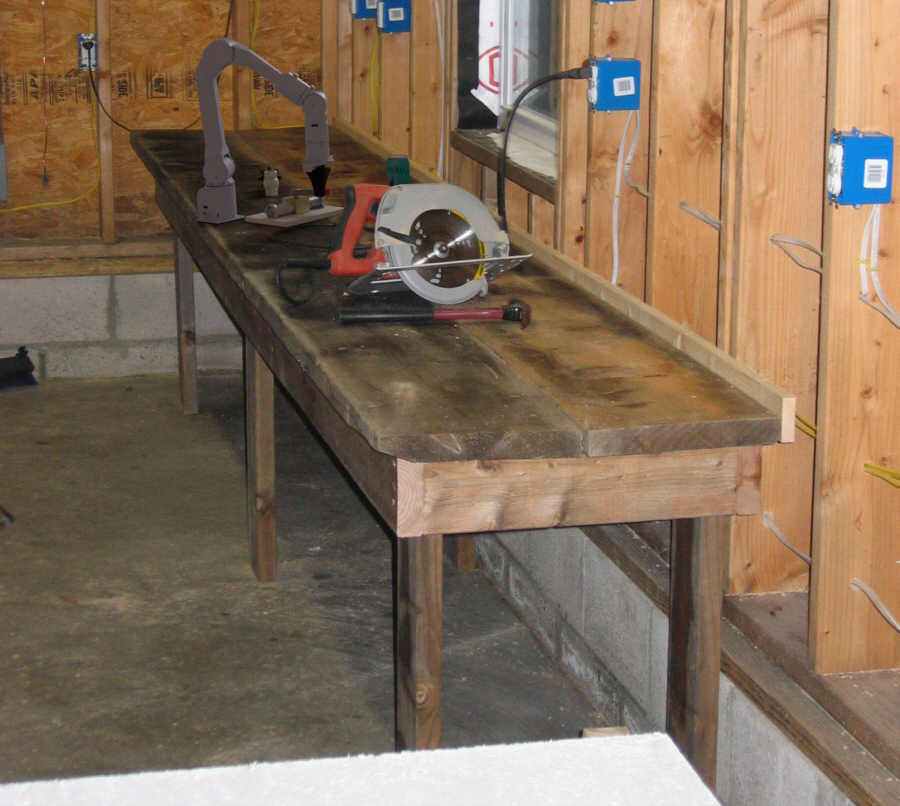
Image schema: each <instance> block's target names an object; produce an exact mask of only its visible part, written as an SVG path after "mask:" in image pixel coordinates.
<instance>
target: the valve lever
mask: <svg viewBox="0 0 900 806" xmlns="http://www.w3.org/2000/svg"><path fill="white" fill-rule="evenodd" d="M332 194H333V191H332V187H331V186H329V187H328V186H326V188H325V195H324V197H331V196H332ZM298 195H299V196H312V197H313V196H315V194H314V189H313V187H312V188H298V187H297V188H295V187H294V188H290V189H289V196H298Z"/></svg>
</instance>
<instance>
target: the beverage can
mask: <svg viewBox="0 0 900 806" xmlns="http://www.w3.org/2000/svg"><path fill="white" fill-rule="evenodd" d="M386 158H387V159H386V164H385V165H386V167H385V168H386V169H385V170H386V186H387V185H389V186H393V185H399V184H410V185H411V172H410V171H411V168H410V165H411V164H410V159H409V156H408V154H407V155H406V154H390V155H387V156H386Z"/></svg>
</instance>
